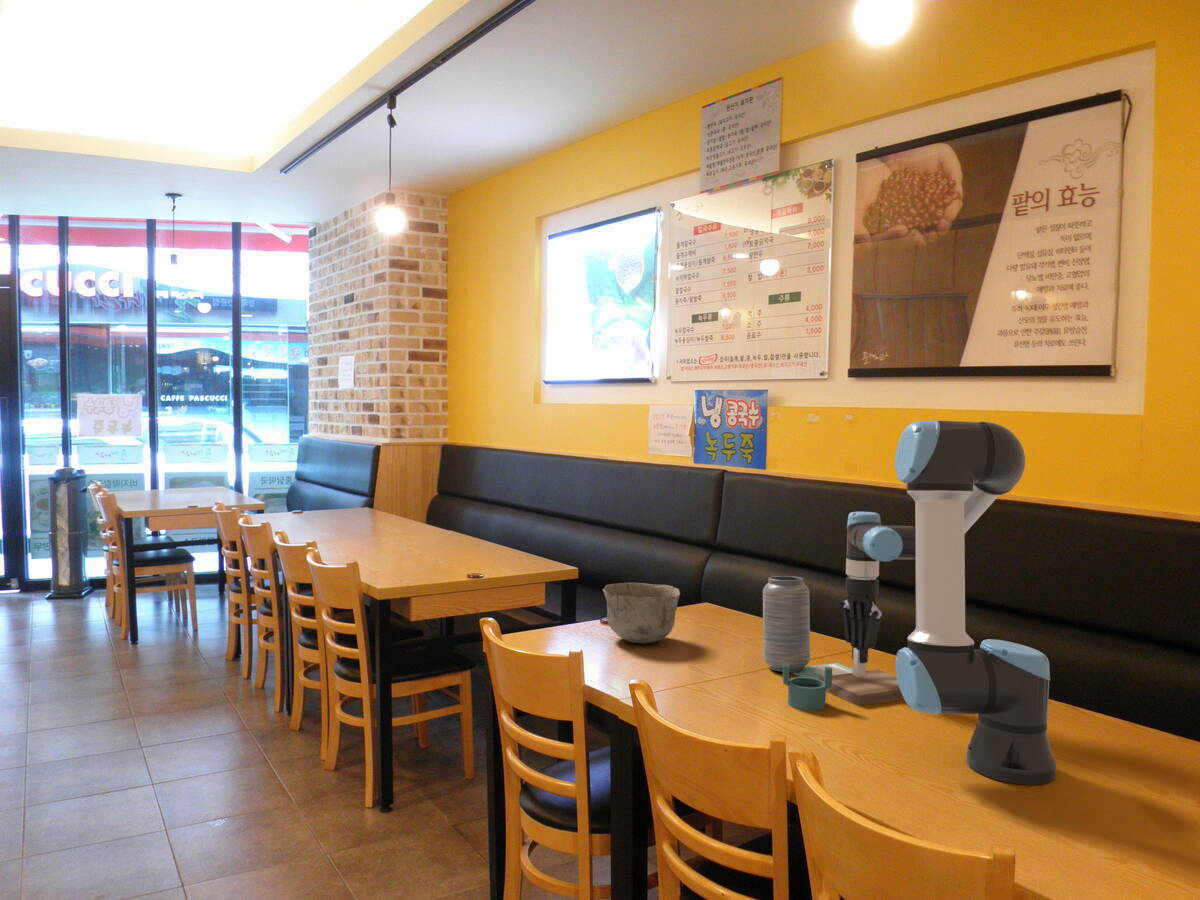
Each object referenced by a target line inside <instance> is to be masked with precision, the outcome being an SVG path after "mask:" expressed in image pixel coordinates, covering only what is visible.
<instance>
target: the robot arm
mask: <svg viewBox="0 0 1200 900" xmlns="http://www.w3.org/2000/svg"><path fill="white" fill-rule="evenodd" d="M1025 467H1026V453H1025V450H1024V447H1023V445H1022V443H1021V442H1020V439H1018V438H1017V436H1016V435H1015V434H1014V433H1013V432H1012V431H1011V430H1010V429H1009V428H1006V427H1005V426H1002V425H1000V424H998V423H994V422H991V421H990V422H989V421H979V422H977V421H958V420H957V421H955V420H936V419H935V420H934V419H933V420H923V421H920V420H919V421H914V422H911V423H910V424H909V425H907V426H906V427H905V428H904V430H903V431H902V433H901V435H900V438H899V440H898V443H897V447H896V451H895V457H894V471H895V472H896V477H897V479H898V480H899V482H902V483H903V484H906V493H907V494H908V496H910V497H911V498H912V499H913V501H914V502H915V504H914V505H915V507H914V508H915V509H914V510H915V511H914V512H915V515H914V516H915V517H914V518H915V520H914V521H915V526H913V525H908V526H907V525H882V521H881V516H880V514H879V513H878V512H872V511H852V512H849V514H848V516H847V525H846V531H847V532H846V558H845V559H846V562H845V575H847V576H846V577H845V592H846V593H847V596H846V599H845V600H842V601H839V606H840V610H841V612H842V619H843V627H844V635H845V641H846V643H849V644H850V646H851V648H852V649H851V650H852V651H851V652H852V653H851V654H852V655H851V658H852V669H853V675H854V676H857V677H858V676H865V675H866V671H867V664H868V661H869V649H875V648H876V644H877V639H878V635H879V630H880V626H881V620H882V619H883V617H884V615H885V612H884V610H883V609H882V610H880V609H879V608H878V605H877V600H876V596H878V594H879V585H880V583H879V582H880V580H879V579H878V577H879V575H880V562H884V563H885V562H892V561H893V560H915V629H914V630H913V631H911V633H910V634H909V635H908V636H907V645H906V647H902V648H901V649H899V650H898V651H897V652H896V658H895V673H896V675H895V676H896V677H897V680H898V684H899V688H900V691H901V693H902V695H903V698H904V699H903V700H904V701H905V702H906V704H907V705H908V707H909V708H910V709H911V710H913V711H915V712H916V713H920V714H932V715H933V714H934V715H936V716H939V715H942V714H944V715H957V714H958V715H978V718H977V724H976V725H975V729H974V731H973V734H972V736H971V737H970V741H969V744H968V746H967V748H966V764H967V765H968V767H970V768H971V769H972V770H973V771H975V772H977V773H978V774H981V775H982V776H986V777H988V778H991V779H994V780H997V781H1000V782H1006V783H1009V784H1010V783H1011V784H1017V785H1018V784H1019V785H1029V786H1030V785H1038V786H1039V785H1044V784H1049V783H1051V782H1053V781H1054V780H1055V779H1056V774H1057V773H1056V772H1057V763H1056V760H1055V758H1054V756H1053V751H1052V747H1051V744H1050V740H1049V737H1048V713H1049V694H1050V693H1049V692H1050V681H1051V674H1050V673H1051V671H1050V661H1049V659H1048V657H1047V656H1046V655H1045V654H1044V653H1043V652H1041V651H1040V650H1038V649H1035V648H1033V647H1030V646H1027V645H1024V644H1022V643H1021V644H1020V643H1016V642H1011V641H1007V640H1002V639H992V638H989V639H988V638H987V639H984V640H982V641H981V644H979V647H980V649H979V648H978V649H975V641H974V639H972V637H970V635H969V634H968V633H967V631H966V576H965V575H966V573H965V572H966V569H965V568H966V567H965V566H966V564H965V563H966V562H965V558H966V554H965V553H966V550H965V549H966V548H965V545H966V544H965V535H966V533H967V532H968V531H969V530H970V528H971V527H972V526H973V525H974V524H975V523H976V522H977V521H978V520H979V518H980V517H981V516H982V515H983V514H984V513H985V512H986V511H987V509H989V508H990V506H991V505H992V504H993V503H995V501H996V499H997V498H998V497H999V496H1003V495H1006V494H1008V493H1010V492H1011V491H1012V490H1013V489H1014V488H1015V487H1016V486H1017V485H1018V483H1019V482H1020V480H1021V479H1022V476H1023V475H1024V472H1025Z"/></svg>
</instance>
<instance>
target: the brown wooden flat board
mask: <svg viewBox="0 0 1200 900" xmlns="http://www.w3.org/2000/svg"><path fill="white" fill-rule="evenodd" d="M819 680H822V681H825V677H819ZM826 693H830V694H832V695H834V696H836V697H838V698H840V699H842V700H845V701H847V702H849V703H851V704H852V705H855V706H857V707H862V706H869V705H874V704H875V705H876V704H882V703H887V702H895V701H901V700H904V698H903V695H902V693H901V691H900V688H899V684H898V680H897V676H896V675H893V674H890V673H887V672H885V671H882V670H881V669H873V670H872V669H870V670H866V675H865V676H858V677H857V676H854V675H853V673H848V674H841V675H833V676H832V687H830V688H827V689H826Z"/></svg>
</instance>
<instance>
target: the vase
mask: <svg viewBox="0 0 1200 900" xmlns="http://www.w3.org/2000/svg"><path fill="white" fill-rule="evenodd" d="M810 609H811V608H810V589H809V587H808V585H806V584H805V583H804V578H803V577H802V576H801V577H800V576H794V575H791V576H790V575H777V576H776V575H775V576H769V577H768V583H766V584H765V585H764V587H763V589H762V623H763V624H762V632H763V633H762V634H763V635H762V637H763V639H762V640H763V642H762V643H763V646H762V647H763V649H762V650H763V659H764V661H765V663H766V664H767V665H768V666H769V669H770V670H772V671H775V672H781V673H783V664H789V665H790V670H789V673H790V672H798V671H802V670H804V667H807V665H809V663H810V660H811V633H810V632H811V628H810V626H811V624H810V622H811V621H810V620H811V619H810V618H811V617H810V611H811V610H810Z"/></svg>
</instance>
